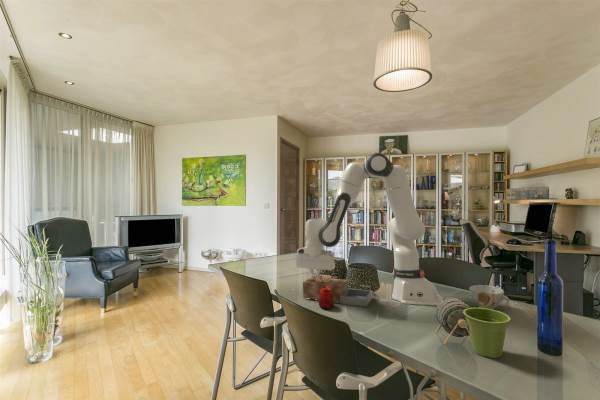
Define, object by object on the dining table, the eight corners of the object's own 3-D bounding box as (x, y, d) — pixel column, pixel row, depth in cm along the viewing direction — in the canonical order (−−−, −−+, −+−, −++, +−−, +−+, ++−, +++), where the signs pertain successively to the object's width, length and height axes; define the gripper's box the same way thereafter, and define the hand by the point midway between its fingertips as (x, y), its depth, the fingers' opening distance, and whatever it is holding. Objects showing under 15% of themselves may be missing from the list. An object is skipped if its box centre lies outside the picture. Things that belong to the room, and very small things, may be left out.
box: (373, 298, 142) (372, 290, 142) (366, 307, 129) (366, 299, 129) (348, 295, 147) (348, 288, 147) (340, 304, 134) (339, 296, 134)
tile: (331, 279, 147) (331, 275, 147) (327, 282, 141) (327, 278, 141) (320, 278, 149) (320, 274, 149) (315, 281, 144) (315, 277, 144)
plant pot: (457, 351, 89) (455, 313, 89) (475, 340, 96) (474, 305, 96) (501, 367, 79) (499, 325, 80) (518, 354, 86) (517, 315, 86)
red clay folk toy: (333, 310, 126) (332, 275, 127) (317, 309, 128) (316, 275, 128) (335, 304, 134) (334, 271, 134) (319, 304, 135) (318, 271, 135)
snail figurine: (491, 325, 107) (489, 291, 108) (473, 319, 113) (472, 287, 113) (499, 322, 110) (498, 289, 110) (482, 316, 116) (481, 285, 116)
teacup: (463, 305, 129) (462, 287, 129) (481, 301, 134) (480, 283, 134) (499, 316, 115) (498, 296, 115) (517, 311, 121) (517, 291, 121)
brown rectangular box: (348, 296, 146) (347, 279, 146) (340, 303, 135) (340, 285, 135) (312, 292, 154) (312, 276, 155) (303, 298, 144) (302, 282, 144)
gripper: (336, 249, 146) (337, 277, 146) (299, 248, 155) (300, 274, 155) (332, 251, 141) (332, 280, 140) (293, 250, 149) (294, 277, 149)
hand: (315, 277), depth 148 cm, fingers closed
